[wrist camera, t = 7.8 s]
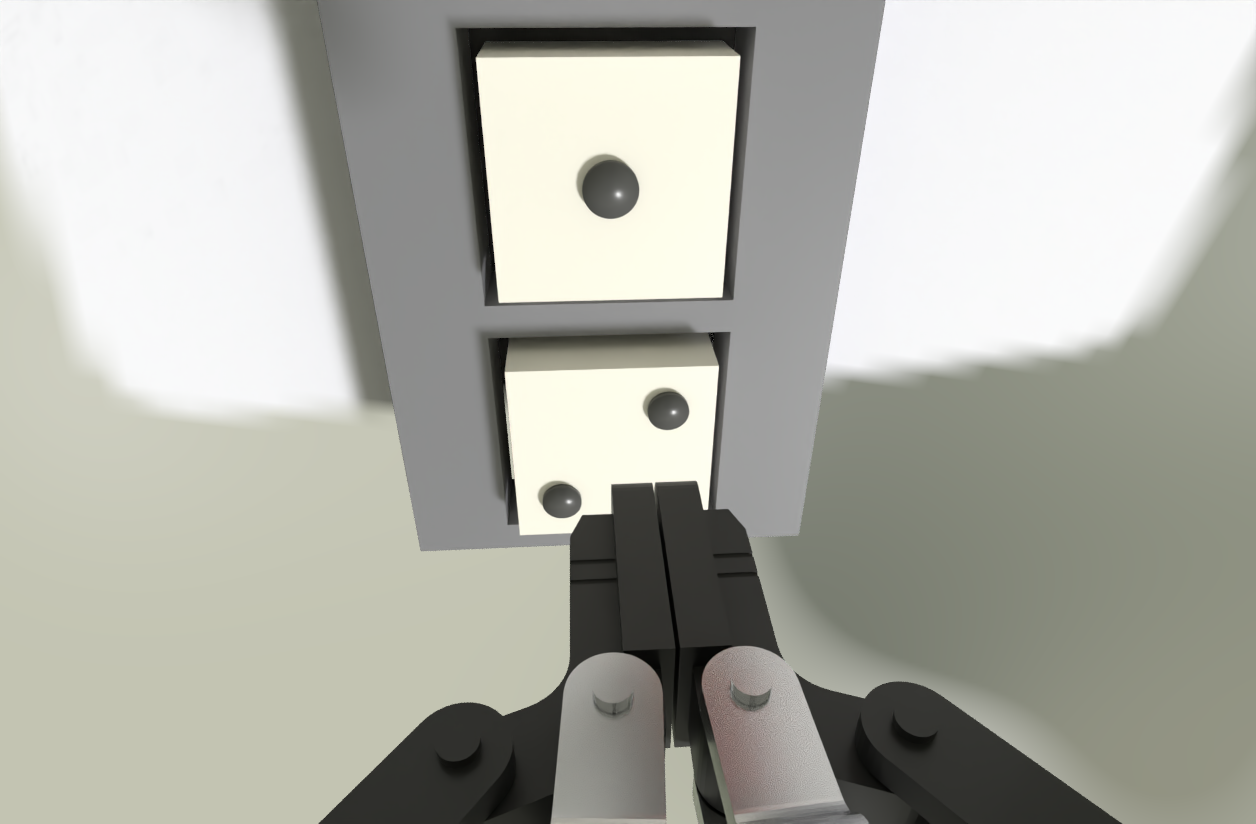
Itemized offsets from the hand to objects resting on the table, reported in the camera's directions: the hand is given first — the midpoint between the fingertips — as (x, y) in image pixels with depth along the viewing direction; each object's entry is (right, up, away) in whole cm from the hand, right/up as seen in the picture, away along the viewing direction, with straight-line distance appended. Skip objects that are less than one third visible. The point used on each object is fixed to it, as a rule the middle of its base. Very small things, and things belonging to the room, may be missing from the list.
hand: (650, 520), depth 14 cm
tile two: (-1, +2, +12) cm, 12 cm away
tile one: (-1, +9, +8) cm, 12 cm away
